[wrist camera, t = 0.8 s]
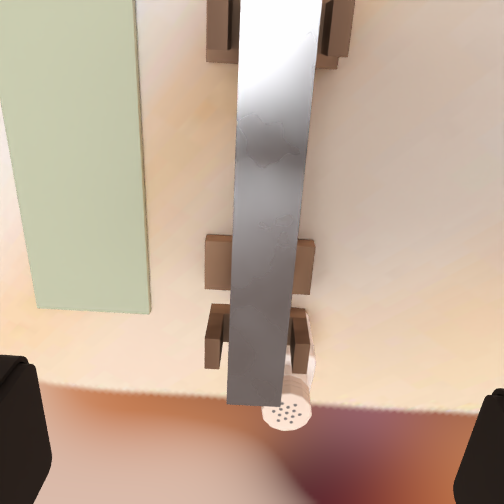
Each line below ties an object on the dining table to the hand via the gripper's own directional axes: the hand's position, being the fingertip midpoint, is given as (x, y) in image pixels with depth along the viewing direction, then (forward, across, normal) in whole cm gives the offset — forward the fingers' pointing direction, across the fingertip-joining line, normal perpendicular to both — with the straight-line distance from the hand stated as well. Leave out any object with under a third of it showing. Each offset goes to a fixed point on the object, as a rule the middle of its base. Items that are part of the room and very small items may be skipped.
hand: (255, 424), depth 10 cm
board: (+24, +13, 0) cm, 27 cm away
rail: (+15, 0, 0) cm, 15 cm away
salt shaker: (+24, -2, +14) cm, 28 cm away
